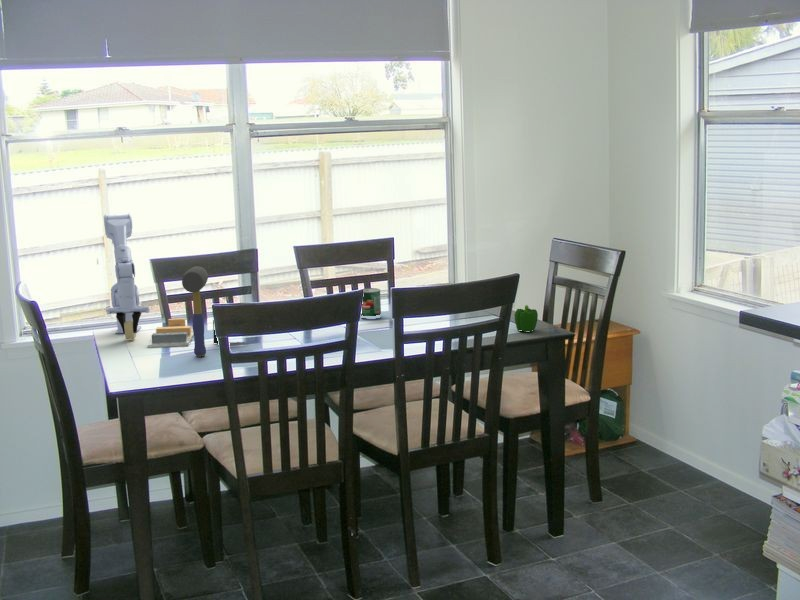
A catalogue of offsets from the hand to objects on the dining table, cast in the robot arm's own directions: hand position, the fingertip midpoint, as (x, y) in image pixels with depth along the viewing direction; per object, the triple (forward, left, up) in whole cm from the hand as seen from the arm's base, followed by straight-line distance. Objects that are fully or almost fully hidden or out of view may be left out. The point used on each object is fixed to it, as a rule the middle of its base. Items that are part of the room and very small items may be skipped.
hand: (130, 332), depth 334 cm
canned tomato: (-21, +88, -3) cm, 91 cm away
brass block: (0, 0, -2) cm, 2 cm away
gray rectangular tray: (0, +15, -3) cm, 15 cm away
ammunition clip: (+10, +36, -3) cm, 38 cm away
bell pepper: (+12, +142, -3) cm, 143 cm away
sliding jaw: (-6, +15, -2) cm, 16 cm away
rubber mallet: (+27, +28, -3) cm, 39 cm away
